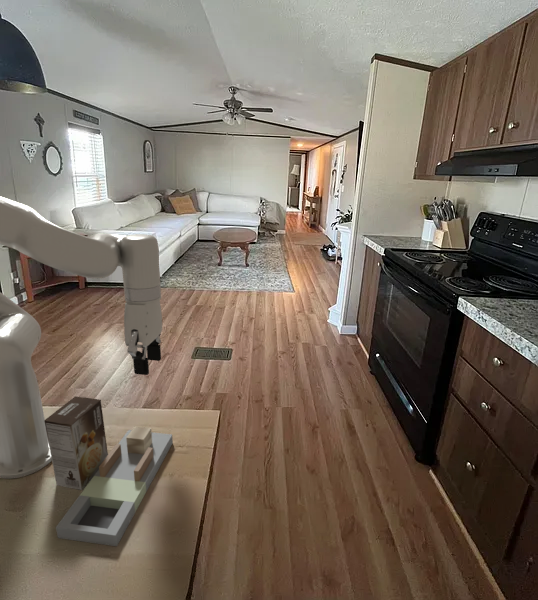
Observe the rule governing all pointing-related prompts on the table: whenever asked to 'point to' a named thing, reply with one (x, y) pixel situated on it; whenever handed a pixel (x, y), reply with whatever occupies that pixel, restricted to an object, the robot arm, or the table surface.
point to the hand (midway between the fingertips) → (148, 366)
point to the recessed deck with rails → (114, 493)
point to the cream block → (139, 440)
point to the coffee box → (77, 441)
